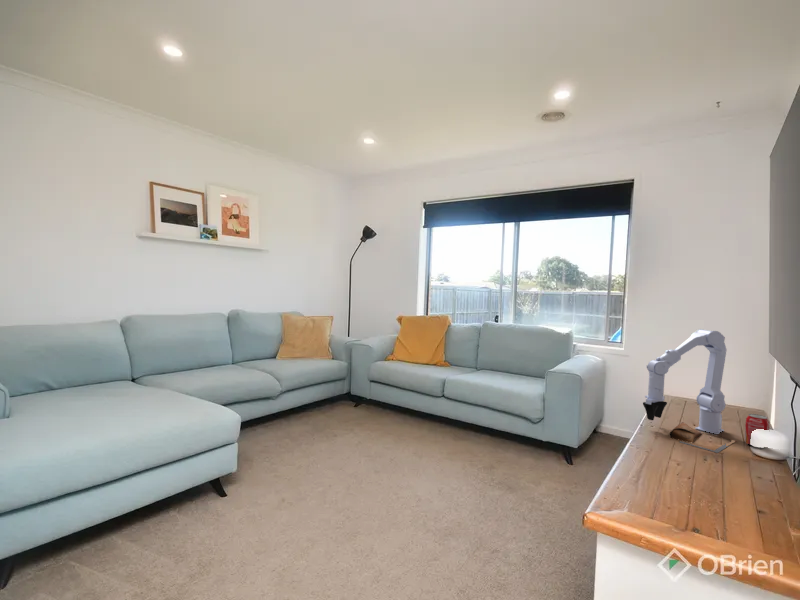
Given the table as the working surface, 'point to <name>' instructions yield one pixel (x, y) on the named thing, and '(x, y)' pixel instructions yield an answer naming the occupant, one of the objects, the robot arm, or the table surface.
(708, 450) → the taped bay
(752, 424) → the soda can
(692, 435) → the sunglasses case
